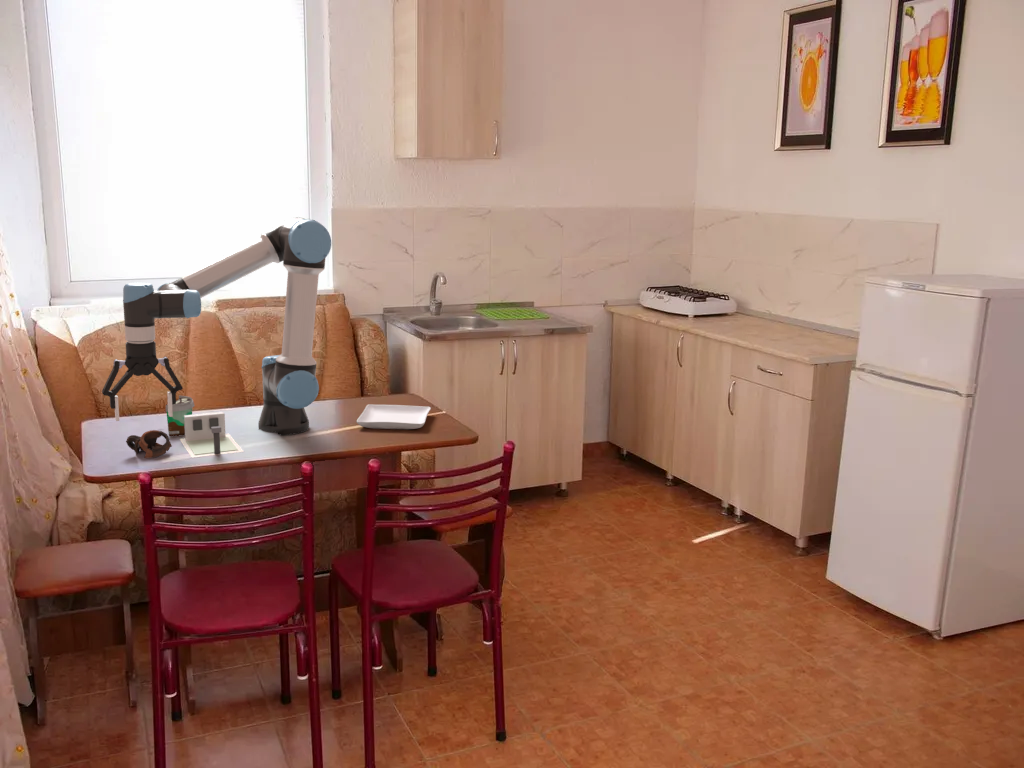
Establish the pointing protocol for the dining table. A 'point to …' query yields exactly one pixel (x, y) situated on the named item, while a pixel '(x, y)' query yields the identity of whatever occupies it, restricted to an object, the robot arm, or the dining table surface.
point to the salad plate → (393, 416)
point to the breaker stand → (207, 436)
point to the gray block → (216, 438)
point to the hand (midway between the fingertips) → (144, 417)
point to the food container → (179, 415)
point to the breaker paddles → (198, 423)
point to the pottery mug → (149, 443)
